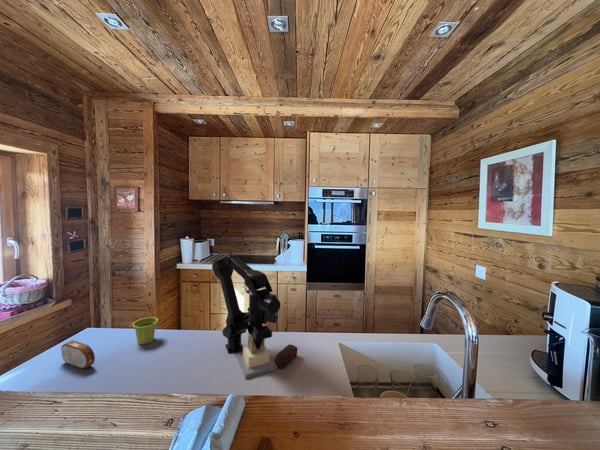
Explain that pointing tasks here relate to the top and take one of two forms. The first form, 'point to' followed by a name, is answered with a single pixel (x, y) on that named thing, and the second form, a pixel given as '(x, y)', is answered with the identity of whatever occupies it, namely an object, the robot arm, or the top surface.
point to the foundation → (255, 362)
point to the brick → (285, 356)
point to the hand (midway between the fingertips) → (256, 345)
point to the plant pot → (145, 329)
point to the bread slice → (78, 354)
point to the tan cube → (252, 345)
